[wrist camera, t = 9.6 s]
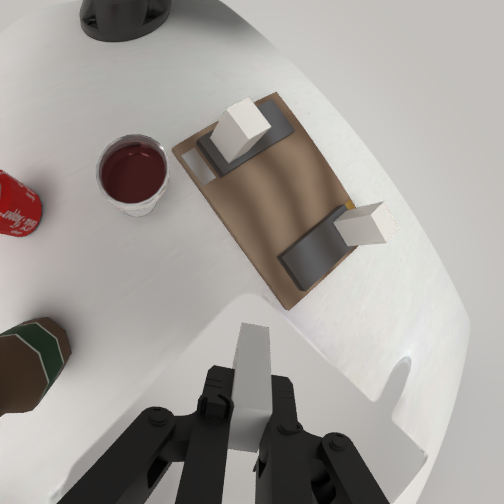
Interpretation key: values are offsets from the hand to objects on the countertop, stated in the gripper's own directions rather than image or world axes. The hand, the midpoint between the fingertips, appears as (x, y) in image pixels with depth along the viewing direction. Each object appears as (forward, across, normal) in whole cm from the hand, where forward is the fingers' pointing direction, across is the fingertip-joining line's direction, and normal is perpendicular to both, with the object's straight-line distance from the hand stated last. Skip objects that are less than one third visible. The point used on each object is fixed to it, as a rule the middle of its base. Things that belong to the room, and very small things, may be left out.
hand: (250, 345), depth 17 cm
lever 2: (+26, +12, +4) cm, 29 cm away
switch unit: (+28, +2, +7) cm, 29 cm away
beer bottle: (+12, -24, -15) cm, 31 cm away
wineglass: (+21, -16, +4) cm, 27 cm away
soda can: (+16, -30, 0) cm, 34 cm away
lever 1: (+24, -6, +12) cm, 27 cm away
